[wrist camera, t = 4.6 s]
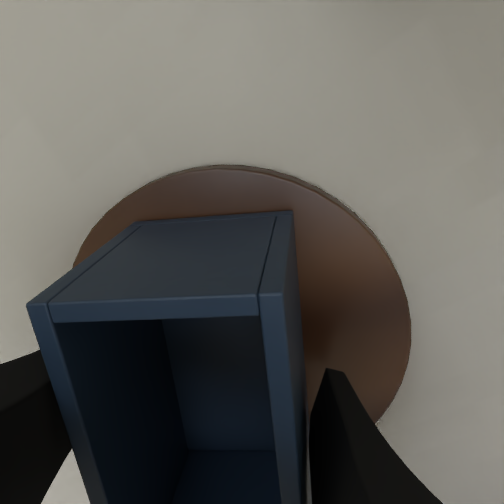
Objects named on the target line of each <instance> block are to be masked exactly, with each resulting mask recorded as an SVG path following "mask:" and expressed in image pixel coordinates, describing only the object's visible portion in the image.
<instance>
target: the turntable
mask: <svg viewBox="0 0 504 504" xmlns="http://www.w3.org/2000/svg"><path fill="white" fill-rule="evenodd" d="M288 210H292V211H293V216H294V230H295V243H296V256H297V269H298V282H299V295H300V308H301V322H302V335H303V348H304V361H305V374H306V387H307V400H308V414H309V426H310V414H311V411H312V408H313V405H314V402H315V399H316V396H317V393H318V390H319V387H320V384H321V381H322V378H323V375H324V372H325V369H326V368H330V369H334V370H338V371H342V372H344V373H345V375H346V376H347V378H348V380H349V382H350V383H351V385H352V387H353V389H354V391H355V392H356V394H357V396H358V398H359V400H360V401H361V403H362V405H363V406H364V408H365V410H366V411H367V413H368V415H369V416H370V418H371V419H372V421H373V422H374V424H375V423H376V422H377V421H378V420H379V419H380V418H381V416H382V415H383V414H384V412H385V411H386V409H387V408H388V407H389V405H390V404H391V402H392V401H393V399H394V397H395V395H396V393H397V391H398V389H399V387H400V385H401V383H402V380H403V377H404V374H405V371H406V368H407V364H408V359H409V353H410V346H411V319H410V313H409V307H408V301H407V298H406V295H405V292H404V289H403V286H402V282H401V279H400V277H399V275H398V273H397V271H396V269H395V267H394V265H393V263H392V261H391V259H390V257H389V255H388V253H387V252H386V250H385V249H384V247H383V246H382V244H381V243H380V242H379V240H378V239H377V237H376V236H375V234H374V233H373V232H372V231H371V230H370V229H369V228H368V227H367V226H366V224H365V223H364V222H363V221H362V220H361V219H360V218H359V217H358V216H357V215H356V214H355V213H353V212H352V211H351V210H350V209H349V208H347V207H346V206H345V205H344V204H342V203H341V202H340V201H339V200H337V199H336V198H334V197H332V196H331V195H329V194H327V193H326V192H324V191H323V190H321V189H319V188H318V187H316V186H314V185H311V184H309V183H307V182H305V181H302V180H300V179H298V178H295V177H293V176H290V175H286V174H283V173H279V172H276V171H273V170H269V169H263V168H257V167H250V166H244V165H214V166H205V167H197V168H191V169H188V170H184V171H180V172H176V173H172V174H169V175H167V176H165V177H162V178H160V179H157V180H155V181H153V182H150V183H148V184H147V185H145V186H143V187H142V188H140V189H138V190H137V191H135V192H133V193H132V194H130V195H128V196H127V197H125V198H123V199H122V200H121V201H120V202H119V203H117V204H116V205H115V206H114V207H113V208H111V209H110V210H109V211H108V212H107V213H106V214H105V215H104V216H103V217H102V218H101V219H100V220H99V222H98V223H97V224H96V225H95V226H94V227H93V228H92V230H91V232H90V233H89V235H88V236H87V238H86V239H85V241H84V243H83V244H82V246H81V248H80V250H79V253H78V255H77V257H76V259H75V262H74V264H73V268H74V267H75V266H77V265H78V264H79V263H81V262H82V261H83V260H85V259H86V258H87V257H89V256H90V255H91V254H93V253H94V252H95V251H97V250H98V249H99V248H100V247H102V246H103V245H104V244H106V243H107V242H108V241H110V240H111V239H112V238H114V237H115V236H116V235H118V234H119V233H120V232H122V231H123V230H124V229H126V228H127V227H128V226H129V225H131V224H132V223H133V222H137V221H150V220H164V219H178V218H192V217H206V216H219V215H233V214H247V213H261V212H274V211H288ZM73 268H72V269H73Z"/></svg>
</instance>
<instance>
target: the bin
mask: <svg viewBox="0 0 504 504" xmlns="http://www.w3.org/2000/svg"><path fill="white" fill-rule="evenodd" d="M26 308H27V311H28V314H29V317H30V320H31V323H32V326H33V329H34V332H35V335H36V338H37V341H38V344H39V347H40V351H41V354H42V357H43V360H44V363H45V366H46V369H47V372H48V375H49V378H50V381H51V384H52V387H53V390H54V393H55V397H56V400H57V403H58V406H59V409H60V412H61V415H62V418H63V421H64V424H65V427H66V430H67V433H68V436H69V439H70V443H71V446H72V449H73V452H74V455H75V458H76V461H77V464H78V467H79V470H80V473H81V476H82V479H83V482H84V485H85V488H86V492H87V495H88V498H89V501H90V504H312V496H311V480H310V462H309V414H308V400H307V387H306V374H305V361H304V348H303V335H302V322H301V308H300V295H299V282H298V269H297V256H296V243H295V230H294V216H293V211H292V210H288V211H274V212H261V213H247V214H233V215H219V216H206V217H192V218H178V219H164V220H150V221H137V222H133V223H132V224H131V225H129V226H128V227H127V228H126V229H124V230H123V231H122V232H120V233H119V234H118V235H116V236H115V237H114V238H112V239H111V240H110V241H108V242H107V243H106V244H104V245H103V246H102V247H100V248H99V249H98V250H97V251H95V252H94V253H93V254H91V255H90V256H89V257H87V258H86V259H85V260H83V261H82V262H81V263H79V264H78V265H77V266H75V267H74V268H73V269H71V270H70V271H69V272H68V273H66V274H65V275H64V276H62V277H61V278H60V279H58V280H57V281H56V282H54V283H53V284H52V285H50V286H49V287H48V288H46V289H45V290H44V291H42V292H41V293H40V294H38V295H37V296H36V297H35V298H33V299H32V300H31V301H29V302H28V303H27V304H26Z"/></svg>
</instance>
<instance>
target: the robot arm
mask: <svg viewBox="0 0 504 504" xmlns="http://www.w3.org/2000/svg"><path fill="white" fill-rule="evenodd" d="M71 449H72V446H71V443H70V439H69V436H68V433H67V430H66V427H65V424H64V421H63V418H62V415H61V412H60V409H59V406H58V403H57V400H56V397H55V393H54V390H53V387H52V384H51V381H50V378H49V375H48V372H47V369H46V366H45V363H44V360H43V357H42V354H41V351H40V350H38V351H36V352H34V353H31V354H28V355H26V356H23V357H20V358H17V359H15V360H12V361H9V362H6V363H3V364H0V504H41V502H42V500H43V498H44V496H45V495H46V493H47V491H48V489H49V487H50V485H51V483H52V482H53V480H54V478H55V476H56V475H57V473H58V471H59V469H60V467H61V466H62V464H63V462H64V460H65V458H66V457H67V455H68V454H69V452H70V451H71ZM309 462H310V480H311V496H312V504H443V503H442V502H441V501H440V500H439V499H438V498H437V497H436V496H434V495H433V494H432V493H431V492H430V491H429V490H428V489H427V488H426V486H425V485H424V484H423V483H422V482H421V481H420V480H419V479H418V478H417V477H416V476H415V475H414V474H413V473H412V472H411V471H410V469H409V468H408V467H407V466H406V465H405V464H404V462H403V461H402V460H401V459H400V458H399V456H398V455H397V454H396V453H395V452H394V450H393V449H392V448H391V446H390V445H389V444H388V443H387V441H386V440H385V438H384V437H383V436H382V434H381V433H380V431H379V430H378V428H377V427H376V426H375V424H374V422H373V421H372V419H371V418H370V416H369V415H368V413H367V411H366V410H365V408H364V406H363V405H362V403H361V401H360V400H359V398H358V396H357V394H356V392H355V391H354V389H353V387H352V385H351V383H350V382H349V380H348V378H347V376H346V375H345V373H344V372H342V371H338V370H334V369H330V368H326V369H325V372H324V375H323V378H322V381H321V384H320V387H319V390H318V393H317V396H316V399H315V402H314V405H313V408H312V411H311V414H310V426H309Z"/></svg>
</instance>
